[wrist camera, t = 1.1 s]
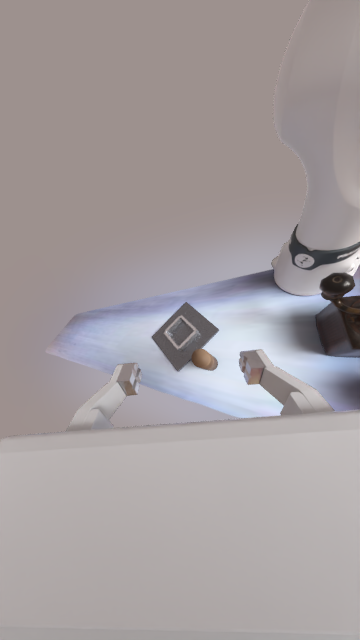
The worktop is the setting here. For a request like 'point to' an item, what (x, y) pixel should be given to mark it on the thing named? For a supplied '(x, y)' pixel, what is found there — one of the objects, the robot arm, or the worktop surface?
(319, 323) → the manual coffee grinder
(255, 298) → the worktop surface
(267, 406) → the worktop surface
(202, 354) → the walnut peg
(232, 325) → the worktop surface
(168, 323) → the plate
